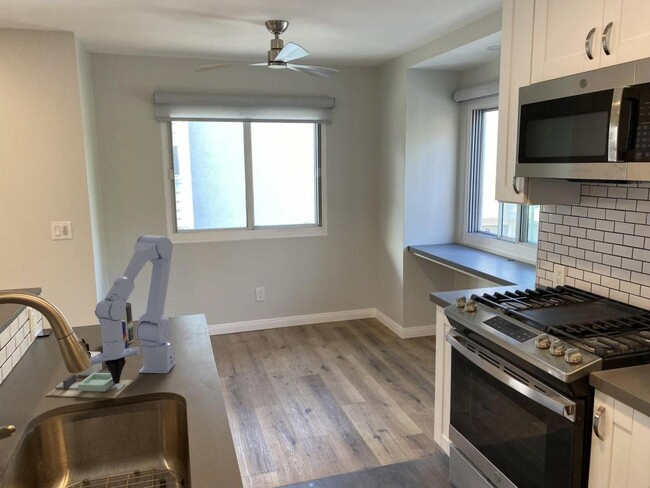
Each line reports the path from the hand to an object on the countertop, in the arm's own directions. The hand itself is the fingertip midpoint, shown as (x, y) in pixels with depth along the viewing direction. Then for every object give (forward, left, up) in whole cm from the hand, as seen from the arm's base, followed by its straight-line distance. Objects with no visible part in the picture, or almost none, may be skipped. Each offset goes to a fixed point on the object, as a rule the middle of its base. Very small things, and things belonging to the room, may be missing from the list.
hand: (116, 382), depth 149 cm
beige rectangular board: (+8, 0, -2) cm, 9 cm away
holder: (+5, 0, -1) cm, 6 cm away
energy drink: (+13, -28, -2) cm, 30 cm away
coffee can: (+19, -39, -2) cm, 43 cm away
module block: (+15, -12, -2) cm, 19 cm away
